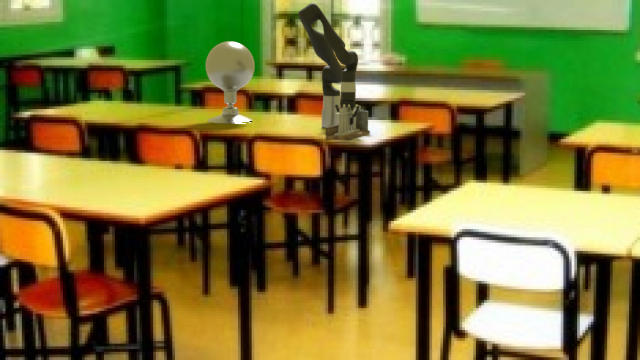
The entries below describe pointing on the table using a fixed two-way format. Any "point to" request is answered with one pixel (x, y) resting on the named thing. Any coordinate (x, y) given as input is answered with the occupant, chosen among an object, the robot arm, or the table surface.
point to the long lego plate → (345, 123)
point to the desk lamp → (230, 76)
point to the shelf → (360, 124)
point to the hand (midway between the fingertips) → (347, 124)
